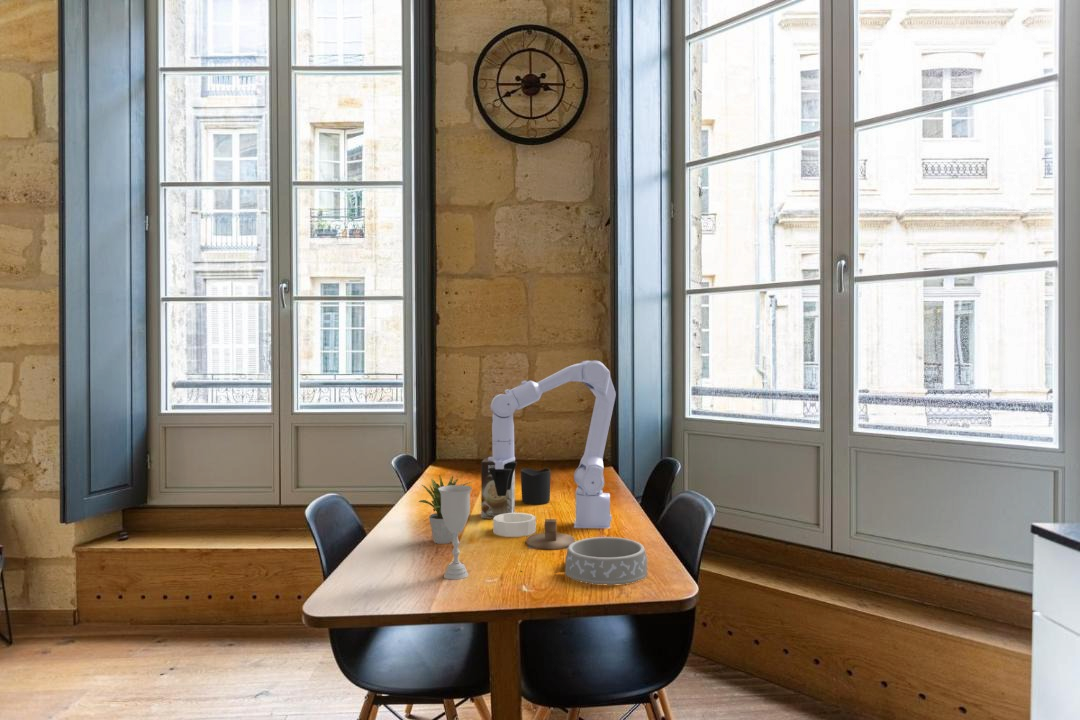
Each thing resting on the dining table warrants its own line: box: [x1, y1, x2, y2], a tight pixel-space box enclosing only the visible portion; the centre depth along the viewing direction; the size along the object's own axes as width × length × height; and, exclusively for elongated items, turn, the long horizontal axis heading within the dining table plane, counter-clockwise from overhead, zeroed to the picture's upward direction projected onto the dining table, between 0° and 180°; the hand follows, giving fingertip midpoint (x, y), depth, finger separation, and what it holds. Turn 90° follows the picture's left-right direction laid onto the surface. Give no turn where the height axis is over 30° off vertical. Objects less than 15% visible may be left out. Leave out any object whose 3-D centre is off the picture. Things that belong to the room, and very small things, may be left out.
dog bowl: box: [564, 536, 648, 585], centre depth 137 cm, size 17×18×5 cm
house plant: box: [417, 474, 472, 545], centre depth 159 cm, size 14×14×16 cm
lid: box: [526, 518, 576, 551], centre depth 156 cm, size 12×12×5 cm
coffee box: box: [480, 457, 516, 519], centre depth 185 cm, size 9×6×16 cm
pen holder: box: [520, 467, 552, 506], centre depth 204 cm, size 9×9×10 cm
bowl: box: [492, 512, 537, 538], centre depth 167 cm, size 11×11×4 cm
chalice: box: [439, 484, 473, 580], centre depth 135 cm, size 7×7×18 cm
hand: (504, 492), depth 170 cm, fingers open, 7 cm apart
